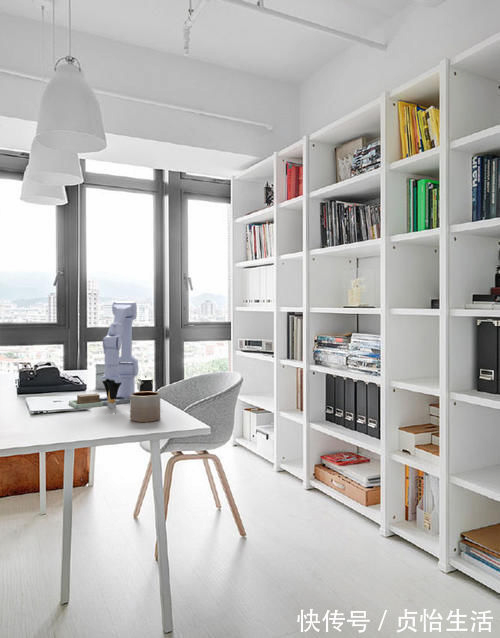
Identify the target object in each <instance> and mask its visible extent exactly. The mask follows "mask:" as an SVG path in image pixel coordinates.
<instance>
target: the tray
mask: <svg viewBox="0 0 500 638" xmlns="http://www.w3.org/2000/svg"><path fill="white" fill-rule="evenodd" d="M68 405H70V406H71V407H73V408H75V409H76V408H77V409H84V408H93V407H94V408H95V407H103V402H98V403H88V404H77V399H75V400H74V399H73V400H68Z"/></svg>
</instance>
